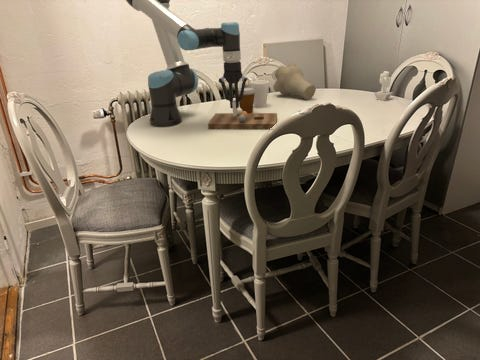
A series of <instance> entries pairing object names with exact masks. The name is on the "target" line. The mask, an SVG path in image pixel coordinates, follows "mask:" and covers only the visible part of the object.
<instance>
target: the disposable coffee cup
mask: <svg viewBox="0 0 480 360" xmlns="http://www.w3.org/2000/svg"><path fill="white" fill-rule="evenodd" d="M240 92H241V87H238V93H239V97H240ZM254 94H255V89H254V88H252V87H251V86H250V87H248V86H247V87H245V88H244V93H243V98H242V100H239V108H241V109H242V111H246V112H247V113H254Z"/></svg>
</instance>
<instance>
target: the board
mask: <svg viewBox="0 0 480 360" xmlns="http://www.w3.org/2000/svg"><path fill="white" fill-rule="evenodd" d="M238 117H239V115H237V116H233V112H229V113H228V112H227V113H226V112H224V113H222V112H220V113H218V112H217V113H214V115H212V117H211V118H210V120H209V121H208V123H207V128H208V129H207V130H271V129H270V128H272V127H273V126H274V125H275V124H276V125H277V121H278V113H277V112H263V113H262V112H253V113H247V117H246V120H245V121H244V122H240V121H239V120H238Z"/></svg>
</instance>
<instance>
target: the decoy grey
mask: <svg viewBox="0 0 480 360" xmlns="http://www.w3.org/2000/svg"><path fill="white" fill-rule="evenodd" d="M238 120H239V121H240V122H244V121H245V120H246V117H245V115H243V114H241V115H239V117H238Z"/></svg>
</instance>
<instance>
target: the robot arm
mask: <svg viewBox="0 0 480 360" xmlns="http://www.w3.org/2000/svg"><path fill="white" fill-rule="evenodd" d="M125 1H126V3H128V5H130V7H132V8H133V9H134V10H136V11H138V12H141V13H143V14H144V15H145V16H147V17H148V18H150V20H151V21H152V24H153V27H154V30H155V33H156V36H157V39H158V42H159V45H160V48H161V51H162V54H163V57H164V60H165V63H166V66H167V67H166V68H165V70H159V71H154V72H152V73H150V74H149V75H148V76H147V87H148V92H149V98H150V105H151V109H150V110H151V111H150V115H149V116H150V117H149V123H150V126H152V127H157V128H158V127H162V128H163V127H172V126H176V125H179V124H181V123H182V122H183V118H182V114H181V112H180V110H179V108H178V105H177V98H178V97H182V96H188V95H189V94H192V93H194V92H195V91H197V87H198V85H199V76H198V74H197V72H196V71H194V69H192V68H190V64H189V63H188V62H186V61H185V58H184V55H183V52H182V50H184V51H195V50H200V49H208V48H219V47H221V48H222V58H223V59H222V61H223V74H222V75H223V76H222V77H220V78H218V82H219V83H220V84H221V88H222V92H223V95H224V98H225V101H229V105H230V106H229V107H230V109H232V113H233V116H237V108H240V106H239V100H242V98H243V93H244V88H245V86H246V84H247V81H248V77H246V76H245V75H243V71H242V61H241V59H242V57H241V36H240V35H241V33H240V24H239V23H238V22H236V21H234V22H233V21H230V22H222V23H221V24H220V27H211V28H210V27H207V28H206V27H205V28H198V29H197V28H194V27H192V26H191V25H189V24H188V23H187V22H186V21H185V20H183V19H182V18H180V17H179V16H178V15H177V14H175V13H174V12H172V11H171V10H170V5H171V4H170V2H171V0H125ZM181 49H182V50H181ZM225 81H226V82H227V84H228V89H227V85H226V82H225ZM240 81H241V87H240V88H241V92H240V97H239V93H238V88H239V82H240ZM233 85H234V89H233ZM233 90H234V92H233ZM233 93H234V94H233Z"/></svg>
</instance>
